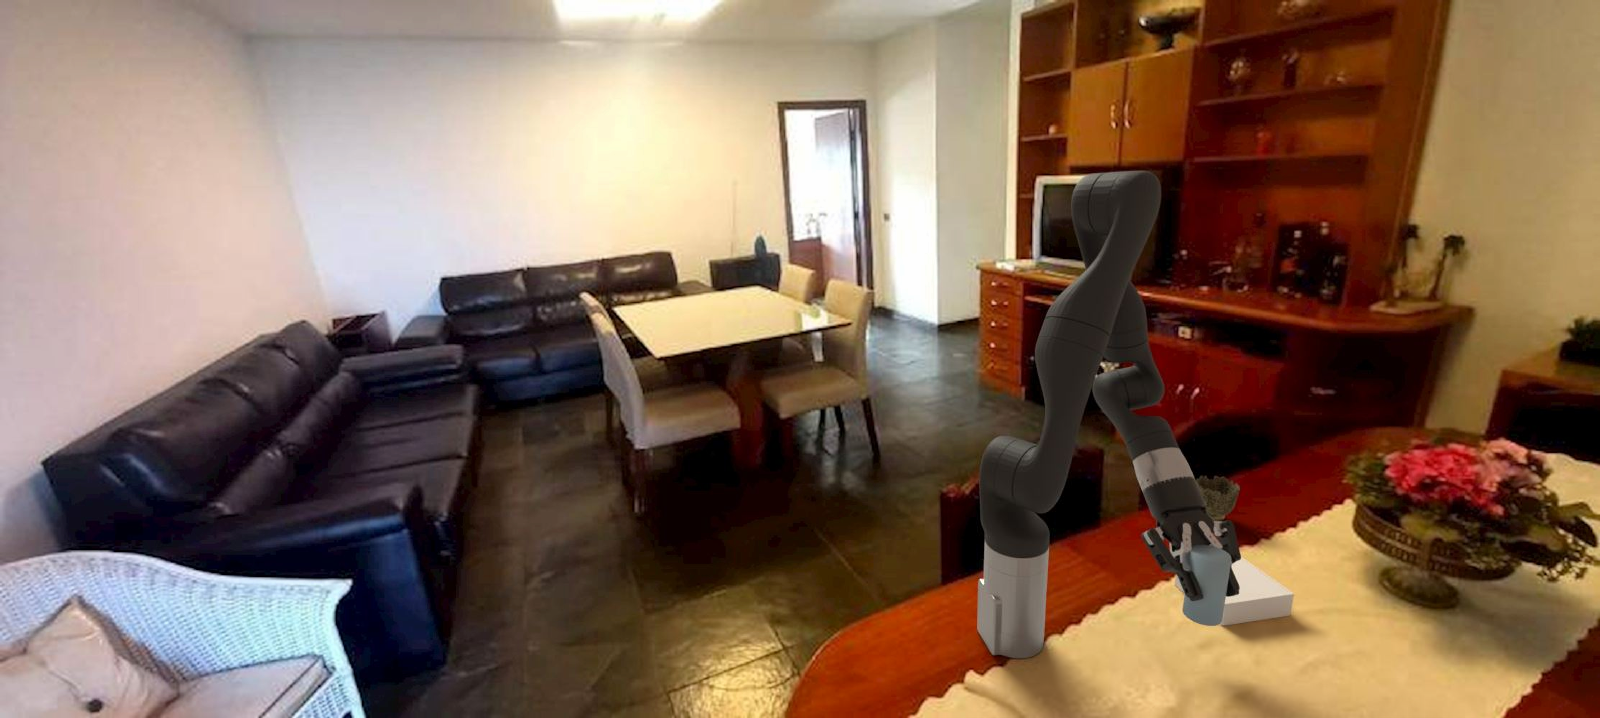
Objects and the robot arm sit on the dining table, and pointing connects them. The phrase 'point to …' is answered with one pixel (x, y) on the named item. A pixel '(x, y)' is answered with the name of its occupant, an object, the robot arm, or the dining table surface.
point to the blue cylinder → (1208, 584)
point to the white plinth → (1254, 596)
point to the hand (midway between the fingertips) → (1215, 597)
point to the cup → (1218, 496)
